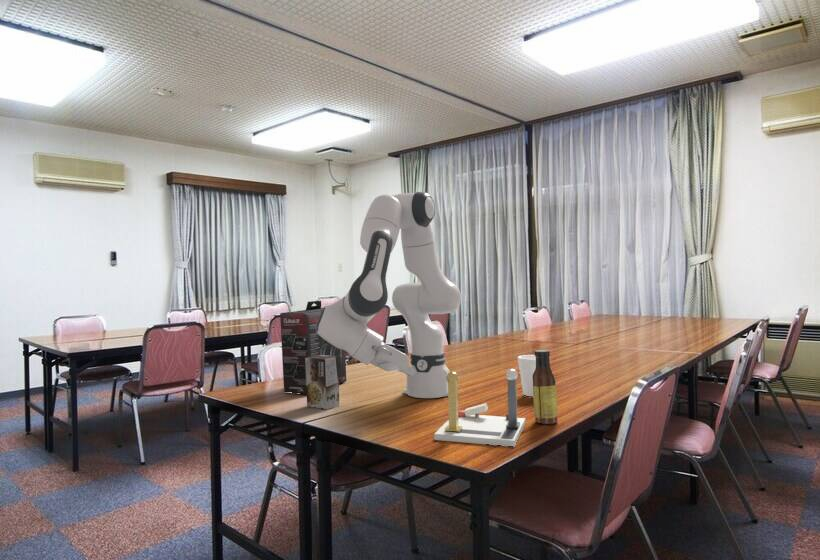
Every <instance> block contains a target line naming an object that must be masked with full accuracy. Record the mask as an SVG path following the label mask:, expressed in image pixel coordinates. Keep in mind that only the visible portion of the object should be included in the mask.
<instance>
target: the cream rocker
mask: <svg viewBox="0 0 820 560" xmlns="http://www.w3.org/2000/svg"><path fill="white" fill-rule="evenodd" d="M488 410H489V406H488V404H487V403H486V402H485V403H482V404H478V405H474V406H471V407H467V408H465V411H464V412H465V415H466V417H467V416H470V415H475V414H478V413H479V414H481V413H485V412H487V411H488Z"/></svg>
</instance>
